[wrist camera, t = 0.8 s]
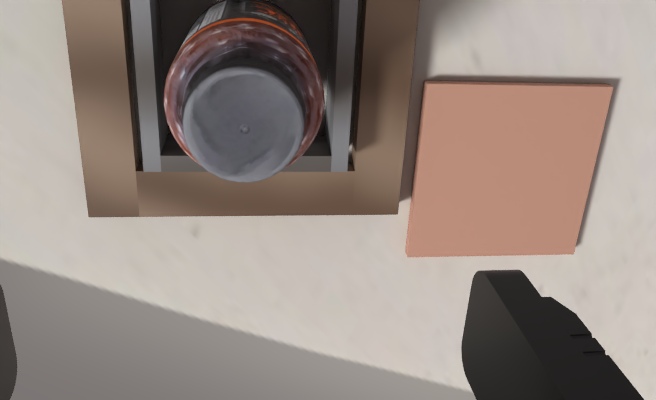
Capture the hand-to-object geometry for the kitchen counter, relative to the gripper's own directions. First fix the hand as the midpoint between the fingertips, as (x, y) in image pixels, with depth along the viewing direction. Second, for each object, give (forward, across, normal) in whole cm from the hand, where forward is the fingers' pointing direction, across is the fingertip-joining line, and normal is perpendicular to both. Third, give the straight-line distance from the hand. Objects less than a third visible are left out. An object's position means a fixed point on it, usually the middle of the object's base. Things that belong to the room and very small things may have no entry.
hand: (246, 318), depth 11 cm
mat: (+22, -14, +6) cm, 27 cm away
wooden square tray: (+22, 0, 0) cm, 22 cm away
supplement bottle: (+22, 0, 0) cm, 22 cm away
